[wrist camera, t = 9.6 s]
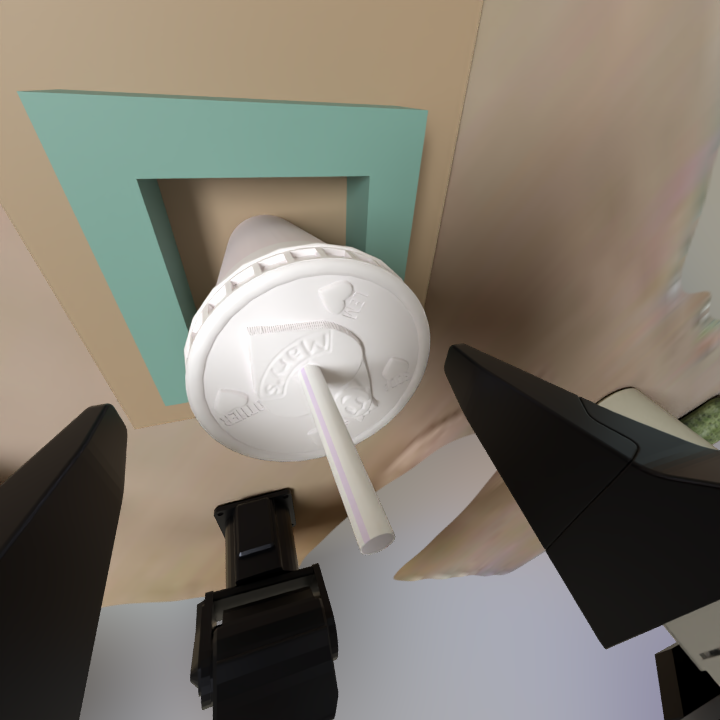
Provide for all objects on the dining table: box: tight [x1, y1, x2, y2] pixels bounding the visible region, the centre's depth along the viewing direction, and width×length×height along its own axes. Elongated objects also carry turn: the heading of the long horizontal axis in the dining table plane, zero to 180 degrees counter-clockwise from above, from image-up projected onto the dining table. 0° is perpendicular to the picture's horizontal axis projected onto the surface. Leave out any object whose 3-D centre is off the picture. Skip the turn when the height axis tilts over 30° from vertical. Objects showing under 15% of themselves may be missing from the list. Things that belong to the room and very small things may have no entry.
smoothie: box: [184, 215, 430, 555], centre depth 10 cm, size 6×6×14 cm
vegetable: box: [679, 397, 720, 445], centre depth 50 cm, size 14×5×5 cm, turn 130°
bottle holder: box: [0, 0, 484, 429], centre depth 15 cm, size 20×18×4 cm
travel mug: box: [597, 388, 718, 450], centre depth 34 cm, size 8×8×18 cm
